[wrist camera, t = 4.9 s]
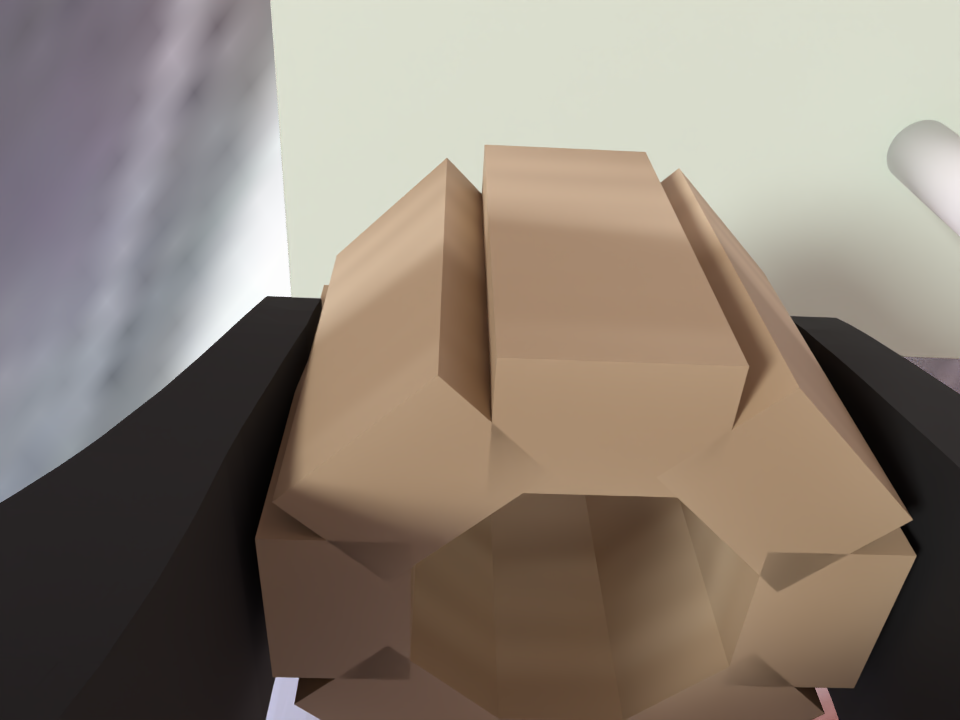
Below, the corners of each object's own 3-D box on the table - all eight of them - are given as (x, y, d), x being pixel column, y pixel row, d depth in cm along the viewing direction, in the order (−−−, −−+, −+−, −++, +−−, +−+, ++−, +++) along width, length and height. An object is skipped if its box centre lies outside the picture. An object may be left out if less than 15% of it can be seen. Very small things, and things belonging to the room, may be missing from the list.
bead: (709, 516, 12) (803, 794, 9) (335, 505, 12) (287, 786, 9) (808, 159, 9) (1003, 374, 6) (316, 136, 9) (229, 347, 6)
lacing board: (985, 334, 22) (1142, 501, 17) (302, 305, 21) (251, 472, 16) (1192, -120, 16) (1519, -73, 11) (271, -184, 15) (178, -163, 10)
